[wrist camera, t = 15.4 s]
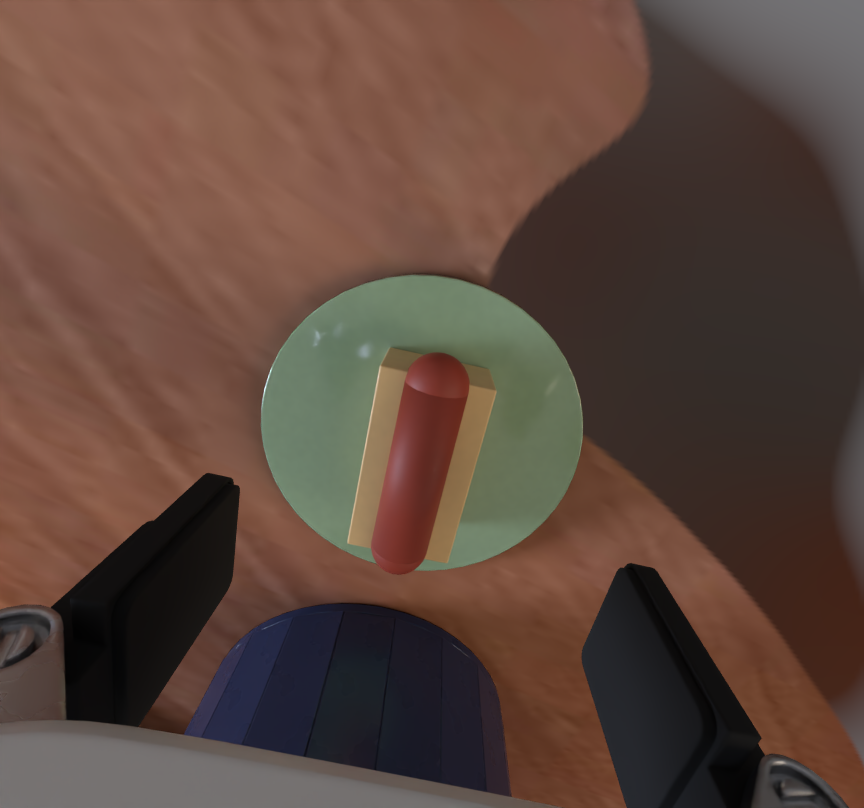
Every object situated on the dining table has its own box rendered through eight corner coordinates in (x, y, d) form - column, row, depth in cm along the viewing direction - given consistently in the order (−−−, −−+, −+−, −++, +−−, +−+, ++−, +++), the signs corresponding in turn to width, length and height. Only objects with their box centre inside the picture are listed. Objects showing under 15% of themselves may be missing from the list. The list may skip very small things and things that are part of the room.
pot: (173, 621, 21) (49, 793, 15) (480, 586, 20) (497, 758, 13) (263, 812, 26) (202, 1005, 19) (515, 794, 25) (539, 994, 18)
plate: (225, 304, 16) (215, 307, 15) (568, 244, 15) (573, 245, 14) (312, 574, 20) (307, 586, 19) (586, 542, 19) (591, 553, 18)
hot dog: (392, 326, 15) (380, 348, 12) (495, 349, 15) (507, 376, 12) (356, 520, 18) (338, 576, 15) (443, 537, 18) (443, 596, 15)
